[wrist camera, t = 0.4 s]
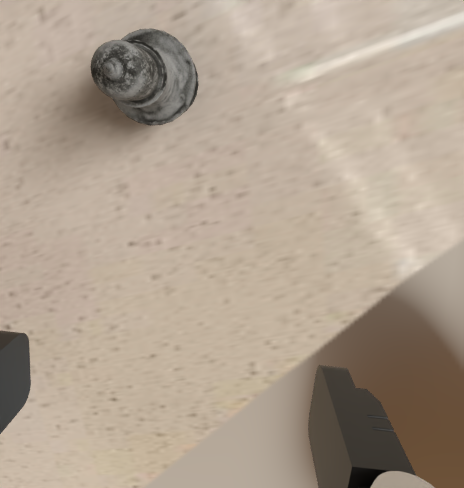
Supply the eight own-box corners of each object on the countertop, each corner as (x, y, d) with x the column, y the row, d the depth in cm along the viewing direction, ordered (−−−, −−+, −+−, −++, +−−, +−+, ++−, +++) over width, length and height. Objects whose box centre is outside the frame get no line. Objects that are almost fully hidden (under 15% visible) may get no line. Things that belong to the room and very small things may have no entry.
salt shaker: (200, 126, 31) (168, 139, 20) (123, 119, 31) (47, 127, 20) (204, 40, 29) (173, 0, 18) (122, 33, 29) (39, -12, 18)
